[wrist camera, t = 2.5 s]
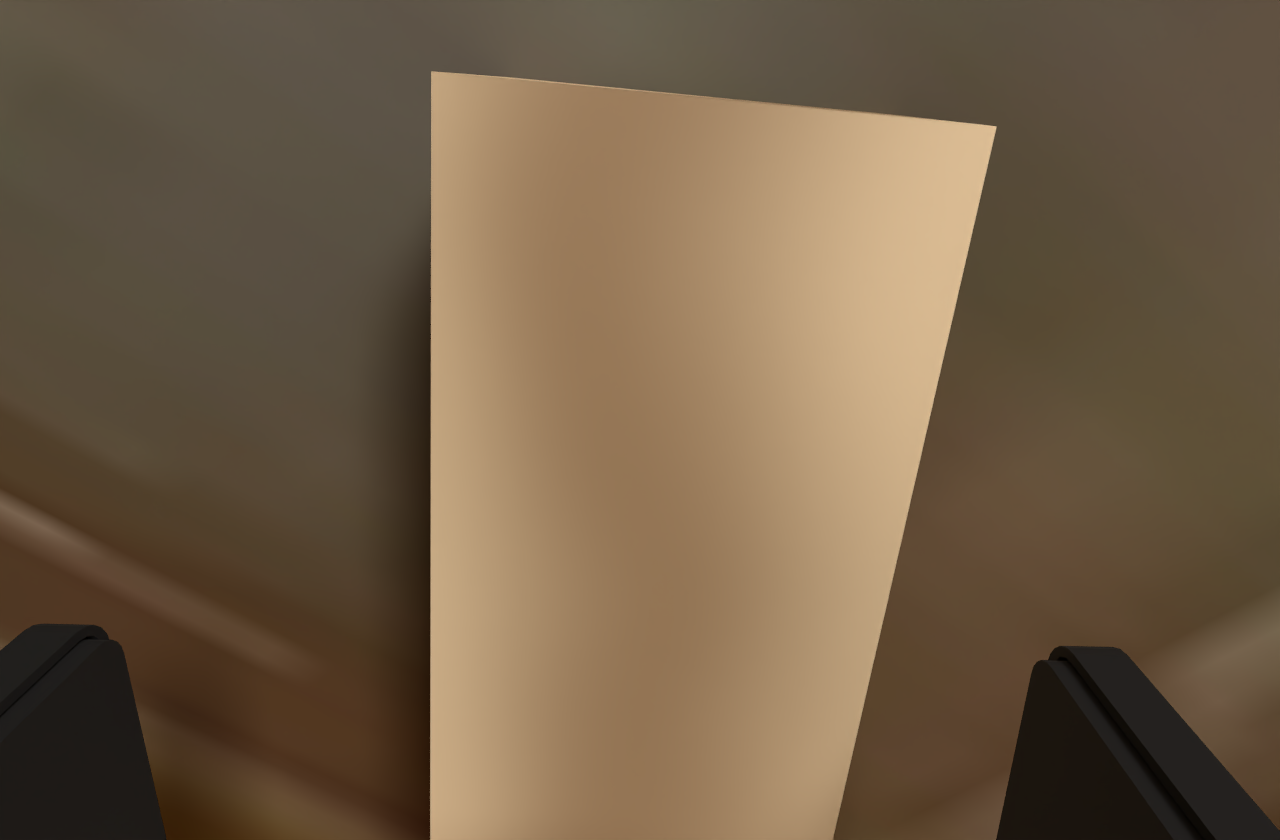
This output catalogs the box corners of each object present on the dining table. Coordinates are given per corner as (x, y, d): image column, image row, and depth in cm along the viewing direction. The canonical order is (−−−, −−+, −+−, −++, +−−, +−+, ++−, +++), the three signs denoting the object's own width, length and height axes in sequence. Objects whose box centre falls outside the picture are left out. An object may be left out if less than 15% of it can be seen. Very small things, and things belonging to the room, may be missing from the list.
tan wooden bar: (889, 114, 11) (996, 126, 8) (760, 809, 16) (788, 1034, 12) (512, 77, 11) (431, 71, 8) (488, 781, 16) (430, 999, 12)
